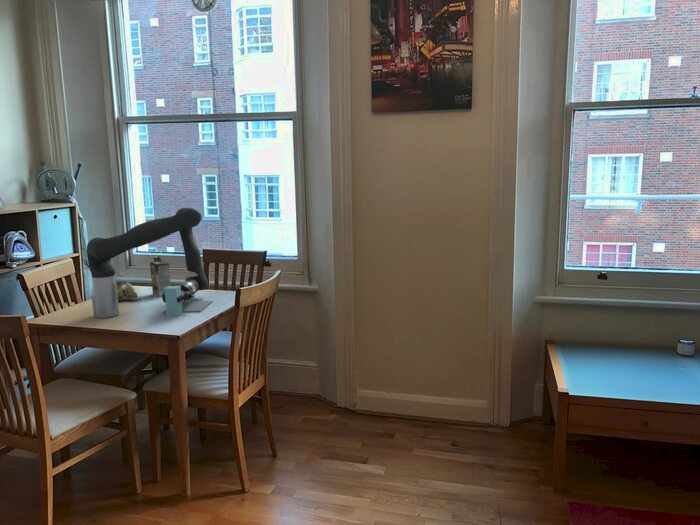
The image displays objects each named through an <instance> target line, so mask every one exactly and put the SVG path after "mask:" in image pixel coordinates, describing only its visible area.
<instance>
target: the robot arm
mask: <svg viewBox="0 0 700 525" xmlns="http://www.w3.org/2000/svg"><path fill="white" fill-rule="evenodd" d="M201 220H202V214H201V212H200V211H199V210H198V209H196V208H194V207H181V208H179V209H177V211H176V212H175V214H173V215H172V216H168V217H162V218H157V219H152V220H147V221H145V222H142V223H139V224H137V225H135V226H133V227H132V228H130V229H129V230H127V231H125V233H122V234H120V235H116V236H115V235H114V236H113V237H109V238H108V237H106V238H104V237H94V238H91V239H90V240H89V241H88V243H87V245H86V257H87V264H88V269H89V272H90V275H91V281H92V291H93V294H91V303H92V312H93V313H92V314H93V318H98V319H108V318H113V317H117V316H119V315H120V308H119V300H118V295H117V291H118V286H117V276H116V269H115V267H114V266H113V264H112V262H111V261H112V260H111V259H114V258H115V257H117V256H120V255H121V254H123V253H125V252H128V251H130V250H134V249H137V248H140V247H143V246H145V245H148V244H149V245H150V244H151V243H154V242H156V241H159V240H161V239H163V238H165V237H169V236H170V235H172V234H175V233H177V232H179V236H180V239H181V242H182V247H183V252H184V258H185V266H186V270H187V271H188V272H191V273H195V274H196V275H192V276H191V275H190V276H187V277H186V278H185V280H184V281H183V282H181V283H179V284H178V285H177V286H180V287H181V296H178V297H177V302H180V301H191V299H194V298H196V297H195V296H196V295H195V294H196V293H198V291H204V290H205V291H206V289H207V288H209V287H208V286H209V280H208V278H207V276H206V273H205V271H204V268H203V265H202V256H201V251H200V248H199V247H198V245H197V242H196V240H195V237H194V234H193V233H194V232H193V228H196V227H197V226H198V225H199V224H200V223H201ZM161 298H162V302H163V303H165V304H166V299H165V292H164V293H163V294H162V297H161Z"/></svg>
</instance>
